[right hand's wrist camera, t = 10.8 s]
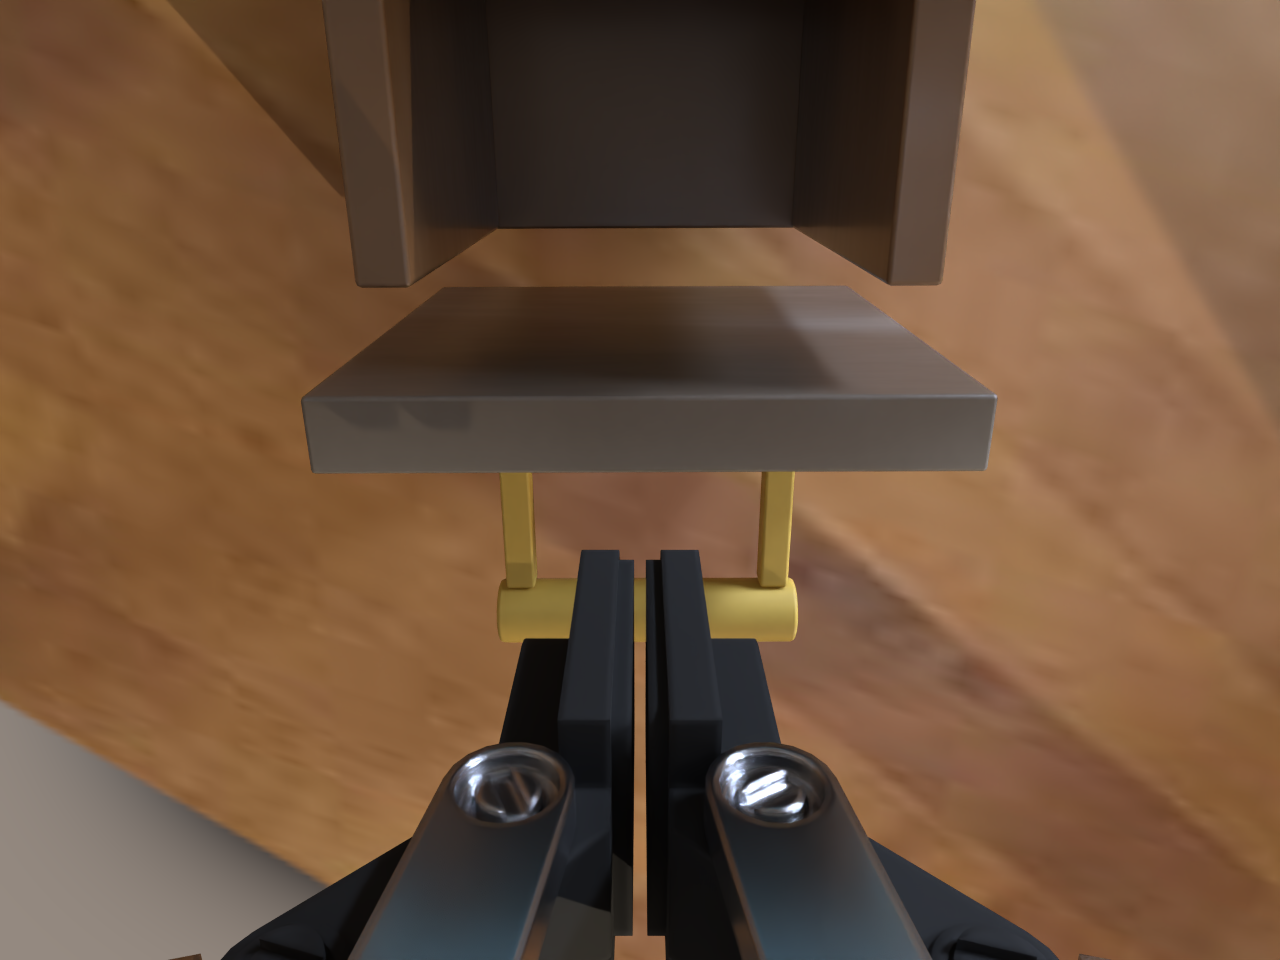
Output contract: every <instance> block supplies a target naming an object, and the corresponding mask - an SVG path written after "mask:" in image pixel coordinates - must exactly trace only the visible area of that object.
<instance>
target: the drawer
mask: <svg viewBox="0 0 1280 960" xmlns="http://www.w3.org/2000/svg"><path fill="white" fill-rule="evenodd" d="M975 4H976V0H322V7H323V15H324V24H325V32H326V40H327V49H328V57H329V65H330V74H331V82H332V90H333V99H334V107H335V115H336V124H337V132H338V140H339V149H340V157H341V165H342V174H343V182H344V190H345V199H346V207H347V215H348V224H349V232H350V240H351V248H352V257H353V265H354V273H355V282H356V284H357V286H359V287H362V288H383V287H409V286H411V285H412V284H414V283H415V282H417V281H418V280H420V279H422V278H423V277H425V276H426V275H428V274H429V273H431V272H432V271H434V270H435V269H437V268H438V267H440V266H441V265H443V264H444V263H446V262H447V261H449V260H450V259H452V258H453V257H455V256H456V255H458V254H460V253H461V252H463V251H464V250H466V249H467V248H469V247H470V246H472V245H473V244H475V243H476V242H478V241H479V240H481V239H482V238H484V237H485V236H487V235H488V234H490V233H491V232H493V231H494V230H496V229H554V228H795V229H797V230H799V231H800V232H802V233H804V234H805V235H807V236H809V237H810V238H812V239H814V240H815V241H817V242H818V243H820V244H822V245H823V246H825V247H827V248H828V249H830V250H832V251H833V252H835V253H837V254H838V255H840V256H842V257H843V258H845V259H847V260H848V261H850V262H852V263H853V264H855V265H857V266H858V267H860V268H862V269H863V270H865V271H867V272H868V273H870V274H871V275H873V276H875V277H876V278H878V279H880V280H881V281H883V282H885V283H886V284H888V285H891V286H900V285H939V284H941V282H942V280H943V272H944V264H945V255H946V247H947V239H948V230H949V222H950V213H951V205H952V197H953V188H954V180H955V172H956V163H957V155H958V146H959V138H960V130H961V121H962V113H963V105H964V96H965V88H966V80H967V71H968V63H969V54H970V46H971V38H972V29H973V21H974V13H975ZM301 404H302V411H303V418H304V424H305V431H306V438H307V444H308V451H309V458H310V464H311V470H312V472H313V473H499V476H500V491H501V506H502V521H503V536H504V551H505V566H506V579H504V580H502V581H501V584H500V586H499V591H498V598H497V628H498V634H499V637H500V640H501V641H503V642H523V640H524V639H525V638H569V635H570V628H571V621H572V613H573V606H574V599H575V592H576V585H577V578H555V579H536V578H537V559H536V539H535V520H534V501H533V482H532V473H555V472H762V480H761V500H760V520H759V540H758V560H757V576H758V578H703V585H704V592H705V599H706V606H707V613H708V621H709V628H710V635H711V638H755V639H756V640H757V641H792V640H794V638H795V635H796V632H797V624H798V603H797V594H796V588H795V585H794V582H793V580H792V579H790V578H788V568H789V552H790V537H791V521H792V505H793V490H794V474H795V472H824V471H984V470H986V469H987V466H988V459H989V452H990V445H991V439H992V432H993V425H994V419H995V412H996V405H997V395H996V394H995V393H993V392H992V391H991V390H989V389H988V388H986V387H985V386H984V385H982V384H981V383H980V382H978V381H977V380H976V379H974V378H973V377H971V376H970V375H969V374H967V373H966V372H965V371H963V370H962V369H960V368H959V367H958V366H956V365H955V364H954V363H952V362H951V361H949V360H948V359H947V358H945V357H944V356H943V355H941V354H940V353H939V352H937V351H936V350H934V349H933V348H932V347H930V346H929V345H928V344H926V343H925V342H923V341H922V340H921V339H919V338H918V337H917V336H915V335H914V334H912V333H911V332H910V331H908V330H907V329H906V328H904V327H903V326H902V325H900V324H899V323H897V322H896V321H895V320H893V319H892V318H891V317H889V316H888V315H886V314H885V313H884V312H882V311H881V310H880V309H878V308H877V307H875V306H874V305H873V304H871V303H870V302H869V301H867V300H866V299H864V298H863V297H862V296H860V295H859V294H858V293H856V292H855V291H854V290H852V289H851V288H849V287H848V286H668V287H444V288H442V289H441V290H440V291H438V292H437V293H436V294H435V295H433V296H432V297H431V298H429V299H428V300H427V301H425V302H424V303H423V304H422V305H420V306H419V307H418V308H416V309H415V310H414V311H413V312H411V313H410V314H409V315H407V316H406V317H405V318H404V319H402V320H401V321H400V322H398V323H397V324H396V325H395V326H393V327H392V328H391V329H389V330H388V331H387V332H386V333H384V334H383V335H382V336H380V337H379V338H378V339H377V340H375V341H374V342H373V343H371V344H370V345H369V346H368V347H366V348H365V349H364V350H362V351H361V352H360V353H359V354H357V355H356V356H355V357H353V358H352V359H351V360H350V361H348V362H347V363H346V364H344V365H343V366H342V367H341V368H339V369H338V370H337V371H335V372H334V373H333V374H332V375H330V376H329V377H328V378H326V379H325V380H324V381H323V382H321V383H320V384H319V385H317V386H316V387H315V388H314V389H312V390H311V391H310V392H308V393H307V394H306V395H305V396H303V397H302V399H301ZM634 642H646V578H634Z"/></svg>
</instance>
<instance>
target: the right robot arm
mask: <svg viewBox="0 0 1280 960" xmlns="http://www.w3.org/2000/svg"><path fill="white" fill-rule="evenodd" d="M633 836H634V560H620V557H619V550H582V551H581V557H580V564H579V571H578V578H577V585H576V592H575V599H574V606H573V613H572V621H571V628H570V635H569V638H525V639H524V640H523V643H522V647H521V651H520V656H519V660H518V664H517V669H516V673H515V677H514V681H513V686H512V690H511V694H510V699H509V703H508V707H507V712H506V716H505V720H504V725H503V729H502V733H501V737H500V742H499V744H496V745H491V746H486V747H484V748H482V749H479V750H477V751H475V752H472V753H470V754H468V755H466V756H465V757H464V758H462V759H461V760H460V761H458V762H457V763H456V764H454V765H453V766H452V768H451V769H450V770H449V771H448V773H447V774H446V775H445V777H444V778H443V780H442V782H441V784H440V785H439V787H438V789H437V791H436V793H435V795H434V797H433V799H432V801H431V802H430V804H429V806H428V808H427V810H426V812H425V814H424V816H423V818H422V820H421V821H420V823H419V825H418V827H417V829H416V831H415V833H414V835H413V837H411V838H410V839H408V840H406V841H405V842H403V843H401V844H400V845H398V846H396V847H394V848H393V849H391V850H389V851H388V852H386V853H384V854H383V855H381V856H379V857H378V858H376V859H374V860H373V861H371V862H369V863H368V864H366V865H364V866H363V867H361V868H359V869H358V870H356V871H354V872H353V873H351V874H349V875H348V876H346V877H344V878H343V879H341V880H339V881H338V882H336V883H334V884H332V885H331V886H329V887H327V888H326V889H324V890H322V891H321V892H319V893H317V894H316V895H314V896H312V897H311V898H309V899H307V900H306V901H304V902H302V903H301V904H299V905H297V906H296V907H294V908H292V909H291V910H289V911H287V912H286V913H284V914H282V915H281V916H279V917H277V918H276V919H274V920H272V921H271V922H269V923H267V924H265V925H264V926H262V927H260V928H259V929H257V930H256V931H254V932H252V933H251V934H250V935H248V936H247V937H245V938H244V939H243V940H241V941H240V942H239V943H237V944H236V945H235V946H233V947H232V948H231V949H230V950H229V951H228V952H227V953H226V955H225V956H224V957H223V958H222V959H221V960H614V947H615V936H632V935H633ZM646 836H647V935H648V936H665V947H666V960H1059V959H1058V958H1057V957H1056V956H1055V954H1054V953H1053V952H1052V951H1051V950H1050V949H1049V948H1048V947H1047V946H1045V945H1044V944H1043V943H1041V942H1040V941H1039V940H1037V939H1036V938H1035V937H1033V936H1032V935H1030V934H1029V933H1028V932H1026V931H1025V930H1023V929H1021V928H1020V927H1018V926H1016V925H1015V924H1013V923H1011V922H1009V921H1008V920H1006V919H1004V918H1003V917H1001V916H999V915H998V914H996V913H994V912H993V911H991V910H989V909H988V908H986V907H984V906H983V905H981V904H979V903H978V902H976V901H974V900H973V899H971V898H969V897H968V896H966V895H964V894H963V893H961V892H959V891H958V890H956V889H954V888H953V887H951V886H949V885H948V884H946V883H944V882H942V881H941V880H939V879H937V878H936V877H934V876H932V875H931V874H929V873H927V872H926V871H924V870H922V869H921V868H919V867H917V866H916V865H914V864H912V863H911V862H909V861H907V860H906V859H904V858H902V857H901V856H899V855H897V854H896V853H894V852H892V851H891V850H889V849H887V848H886V847H884V846H882V845H880V844H879V843H877V842H875V841H874V840H872V839H870V838H869V837H867V835H866V833H865V831H864V829H863V827H862V825H861V823H860V821H859V820H858V818H857V816H856V814H855V812H854V810H853V808H852V806H851V804H850V803H849V801H848V799H847V797H846V795H845V793H844V791H843V789H842V787H841V785H840V784H839V782H838V780H837V778H836V777H835V775H834V774H833V773H832V771H831V770H830V769H829V768H828V766H827V765H826V764H824V763H823V762H822V761H820V760H819V759H818V758H816V757H815V756H814V755H812V754H810V753H808V752H805V751H803V750H801V749H798V748H796V747H794V746H789V745H784V744H781V742H780V737H779V733H778V729H777V725H776V720H775V716H774V712H773V707H772V703H771V699H770V694H769V690H768V686H767V681H766V677H765V673H764V669H763V664H762V660H761V656H760V651H759V647H758V643H757V640H756V639H755V638H711V635H710V628H709V621H708V613H707V606H706V599H705V592H704V585H703V578H702V571H701V564H700V557H699V551H698V550H661V557H660V560H646ZM170 960H202V958H201V954H196V955H192V956H186V957H181V958H176V959H170ZM1078 960H1110V959H1104V958H1099V957H1094V956H1089V955H1084V954H1079V958H1078Z"/></svg>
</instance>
